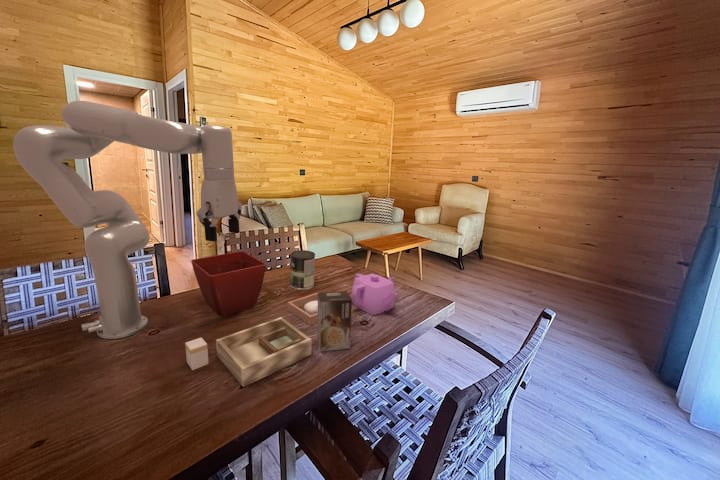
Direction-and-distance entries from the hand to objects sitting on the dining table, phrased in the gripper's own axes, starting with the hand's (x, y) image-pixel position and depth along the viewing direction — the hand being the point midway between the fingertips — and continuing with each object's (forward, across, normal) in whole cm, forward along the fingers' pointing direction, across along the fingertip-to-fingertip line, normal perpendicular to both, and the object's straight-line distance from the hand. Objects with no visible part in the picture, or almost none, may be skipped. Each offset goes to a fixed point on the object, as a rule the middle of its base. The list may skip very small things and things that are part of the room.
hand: (223, 236), depth 90 cm
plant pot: (+31, -16, -11) cm, 37 cm away
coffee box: (+32, -6, +31) cm, 45 cm away
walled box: (+31, +6, +16) cm, 35 cm away
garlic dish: (+31, -23, +18) cm, 43 cm away
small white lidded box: (+31, +15, +1) cm, 34 cm away
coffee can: (+32, -43, +4) cm, 53 cm away
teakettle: (+32, -36, +37) cm, 61 cm away
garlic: (+32, -23, +19) cm, 44 cm away
